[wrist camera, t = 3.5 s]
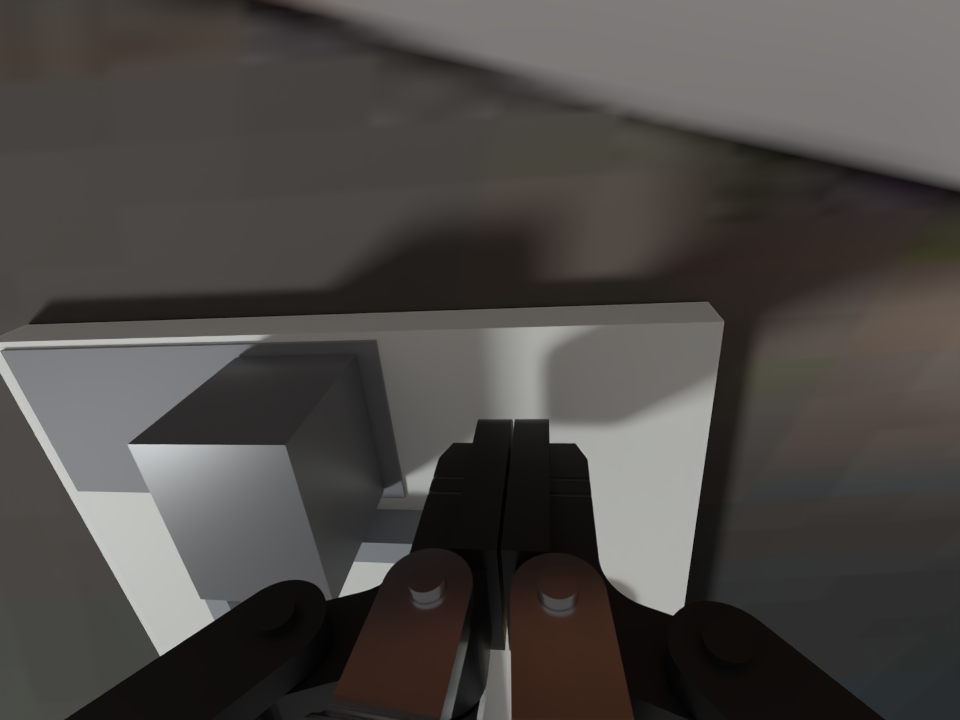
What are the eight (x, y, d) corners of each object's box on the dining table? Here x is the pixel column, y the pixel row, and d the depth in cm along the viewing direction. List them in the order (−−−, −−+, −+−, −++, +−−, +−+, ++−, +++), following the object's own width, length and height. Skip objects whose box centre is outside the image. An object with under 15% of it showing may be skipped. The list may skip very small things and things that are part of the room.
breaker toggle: (355, 354, 12) (284, 445, 8) (384, 490, 13) (334, 606, 10) (235, 357, 12) (127, 444, 9) (279, 488, 14) (200, 599, 11)
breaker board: (708, 301, 11) (745, 345, 9) (657, 715, 18) (671, 794, 16) (26, 324, 14) (-68, 363, 12) (208, 679, 21) (170, 743, 19)
